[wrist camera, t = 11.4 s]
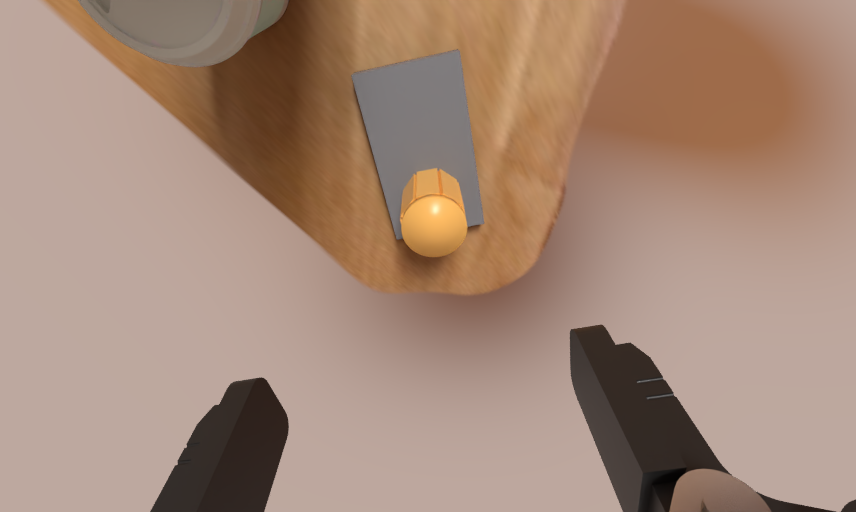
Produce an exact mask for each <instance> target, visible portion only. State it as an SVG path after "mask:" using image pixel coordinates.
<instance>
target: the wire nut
mask: <svg viewBox="0 0 856 512" xmlns="http://www.w3.org/2000/svg"><path fill="white" fill-rule="evenodd" d="M400 222H401V232H402V236H403V239H404V241H405V243H406V244H407V245H408V247H409V248H410V249H412V250H413V251H414V252H416V253H418V254H420V255H423V256H426V257H441V256H445V255H448V254H450V253H452V252H453V251H455V250H456V249H457V248H458V247H459V246H460V245H461V244H462V243H463V241H464V239H465V237H466V234H467V221H466V216H465V210H464V205H463V200H462V196H461V191H460V187H459V182H457V179H455V178H454V177H452V176H451V175H449V174H448V173H446V172H445V171H443V170H441V169H440V170H439V171H437V168H434V169H429V170H424V171H419V172H417V175H415V174H413V176H412V177H411V179H410V180H409V182H408V183H407V185H406V186H405V188H404V189H403V193H402V204H401V214H400Z"/></svg>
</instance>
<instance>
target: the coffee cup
mask: <svg viewBox="0 0 856 512" xmlns="http://www.w3.org/2000/svg"><path fill="white" fill-rule="evenodd" d="M78 1H79V3H80V4H81V6H82V7H83V8H84V9H85V10H86V11H87V13H88V14H89V15H90V16H91V17H92V18H93V19H94V20H95V21H96V22H97V23H98V24H99V25H100V26H101V27H102V28H103V29H104V30H105V31H107V32H108V33H109V34H110V35H112V36H113V37H114V38H116V39H117V40H119V41H120V42H122V43H123V44H125V45H127V46H129V47H131V48H133V49H135V50H137V51H139V52H141V53H142V54H144V55H146V56H148V57H150V58H153V59H155V60H158V61H161V62H164V63H168V64H172V65H178V66H185V67H205V66H211V65H214V64H218V63H220V62H223V61H225V60H227V59H228V58H230V57H231V56H233V55H234V54H235V53H237V52H238V51H239V50H240V49H241V48H242V47H243V46H244V44H245V43H246V42H247V40H248V39H250V38H251V37H253V36H255V35H256V34H258V33H260V32H262V31H263V30H265V29H267V28H268V27H270V26H271V25H273V24H274V23H276V22H277V21H278V20H279V19H280V18H281V17H282V15H283V14H284V12H285V10H286V8H287V5H288V2H289V0H78Z"/></svg>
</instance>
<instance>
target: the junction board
mask: <svg viewBox="0 0 856 512" xmlns="http://www.w3.org/2000/svg"><path fill="white" fill-rule="evenodd" d="M351 76H352V80H353V83H354V87H355V91H356V94H357V98H358V101H359V105H360V109H361V112H362V116H363V120H364V123H365V127H366V130H367V134H368V138H369V141H370V145H371V148H372V152H373V156H374V159H375V163H376V166H377V170H378V174H379V177H380V181H381V185H382V188H383V192H384V195H385V199H386V203H387V206H388V210H389V213H390V217H391V221H392V224H393V228H394V231H395V235H396V239H397V240H398V239H403V236H402V232H401V222H400V214H401V204H402V193H403V189H404V188H405V186H406V185H407V183H408V182H409V180H410V179H411V177H412V176H413V174H415V175H417V172H419V171H424V170H429V169H434V168H437V171H439V170H440V169H441V170H443V171H445V172H446V173H448V174H449V175H451V176H452V177H454V178H455V179H457V182H459V187H460V191H461V196H462V200H463V205H464V210H465V216H466V221H467V227H469V226H474V225H479V224H484V218H483V211H482V204H481V197H480V190H479V183H478V176H477V169H476V162H475V155H474V148H473V141H472V134H471V127H470V120H469V113H468V106H467V99H466V92H465V85H464V78H463V71H462V64H461V57H460V51H459V50H458V49H457V50H453V51H448V52H444V53H440V54H435V55H431V56H426V57H422V58H417V59H413V60H409V61H404V62H400V63H395V64H391V65H386V66H382V67H377V68H373V69H369V70H364V71H360V72H355V73H353V74H352V75H351Z"/></svg>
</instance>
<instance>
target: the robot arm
mask: <svg viewBox="0 0 856 512" xmlns="http://www.w3.org/2000/svg"><path fill="white" fill-rule="evenodd" d="M570 364H571V377H572V382H573V387H574V390H575V394H576V396H577V399H578V401H579V404H580V406H581V409H582V411H583V414H584V416H585V419H586V421H587V424H588V426H589V429H590V431H591V433H592V436H593V438H594V441H595V443H596V446H597V448H598V451H599V453H600V455H601V458H602V461H603V463H604V466H605V468H606V470H607V473H608V475H609V478H610V480H611V483H612V485H613V488H614V490H615V493H616V495H617V498H618V500H619V503H620V505H621V507H622V510H623V512H835V511H829V510H824V509H819V508H814V507H809V506H804V505H798V504H793V503H787V502H783V501H779V500H775V499H772V498H770V497H767V496H764V495H762V494H760V493H758V492H756V491H754V490H753V489H752V488H751V487H749V486H748V485H747V484H745V483H744V482H742V481H740V480H739V479H737V478H736V477H733V476H732V475H731V474H730V473H729V472H728V471H727V470H726V469H725V468H724V467H723V466H722V465H721V463H720V462H719V461H718V459H717V458H716V456H715V455H714V453H713V452H712V450H711V449H710V447H709V446H708V444H707V443H706V441H705V440H704V438H703V437H702V435H701V434H700V432H699V431H698V429H697V428H696V426H695V424H694V423H693V421H692V420H691V418H690V417H689V415H688V414H687V412H686V411H685V409H684V408H683V406H682V405H681V404H680V402H679V400H678V399H677V397H675V396H674V394H673V392H672V390H671V388H670V387H669V385H668V384H667V382H666V381H665V380H663V376H662V375H661V373H660V372H659V370H658V369H657V367H656V366H655V364H654V363H653V361H652V360H651V358H650V357H649V356H647V355H646V354H645V353H644V352H642V351H641V350H640V349H638V348H636V346H634V345H633V344H631V343H625V344H619V345H615V343H614V341H613V340H612V338H611V336H610V335H609V333H608V331H607V330H606V328H605V327H604V326H603V325H596V326H590V327H584V328H577V329H571V331H570ZM288 428H289V426H288V418H287V414H286V412H285V410H284V409H283V407H282V405H281V404H280V402H279V400H278V399H277V397H276V395H275V394H274V392H273V390H272V389H271V387H270V385H269V384H268V382H267V380H265V379H264V378H255V379H249V380H243V381H236V382H233V383H231V384H230V386H229V387H228V388H227V390H226V392H225V394H224V396H223V398H222V400H221V402H220V404H219V405H215V406H213V407H212V409H211V410H210V411H209V412H208V413H207V414H206V415H205V416H204V417H203V418H202V420H201V421H200V422H199V423H198V424H197V426H196V428H195V430H194V431H193V433H192V435H191V437H190V439H189V441H188V443H187V448H184V450H183V452H182V454H181V456H180V458H179V460H178V465H176V466H175V467H174V469H173V471H172V472H171V474H170V476H169V478H168V480H167V482H166V484H165V485H164V487H163V489H162V491H161V493H160V495H159V497H158V498H157V500H156V502H155V504H154V506H153V508H152V510H151V511H150V512H264V510H265V507H266V504H267V501H268V497H269V494H270V491H271V488H272V484H273V481H274V478H275V475H276V472H277V468H278V465H279V462H280V459H281V455H282V452H283V449H284V446H285V443H286V440H287V436H288ZM841 512H856V500H854V501H851V502H849V503H848V504H846V505H845V506H844V508H843V509H842V511H841Z"/></svg>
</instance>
